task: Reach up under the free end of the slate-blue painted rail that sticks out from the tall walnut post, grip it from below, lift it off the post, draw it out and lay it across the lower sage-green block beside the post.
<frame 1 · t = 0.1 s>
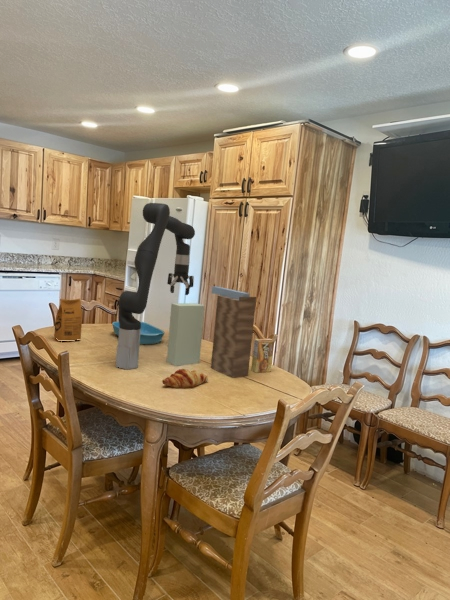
hand: (179, 293, 226), 29 cm above the table, tool pointing down, fingers open, 8 cm apart
post: (229, 371, 194), on the table
croissant: (186, 385, 171), on the table
step: (183, 362, 202), on the table
casserole dish: (136, 339, 241), on the table
rail: (229, 296, 194), point 34 cm above the table, touching post
coffee package: (67, 340, 223), on the table
candy box: (260, 371, 200), on the table
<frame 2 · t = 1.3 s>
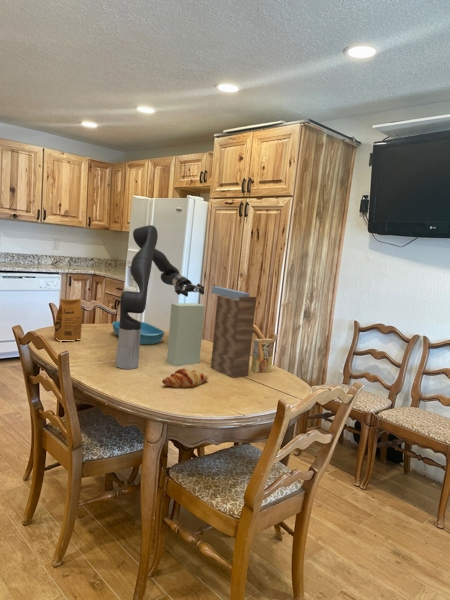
hand: (195, 293, 208), 32 cm above the table, tool horizontal, fingers open, 8 cm apart
nothing on the table moved.
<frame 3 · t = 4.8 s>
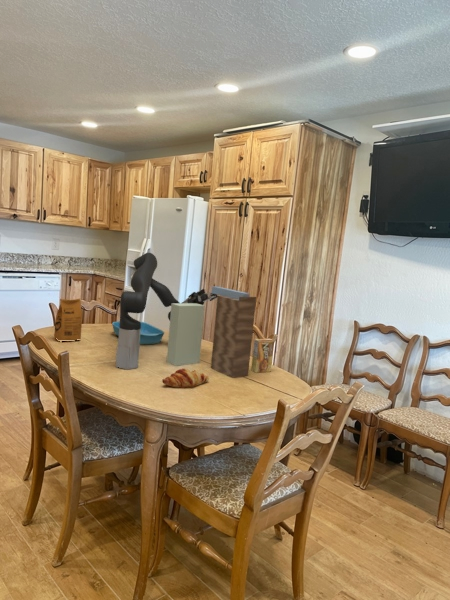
hand: (211, 290, 204), 35 cm above the table, tool pointing upward, fingers open, 8 cm apart
nothing on the table moved.
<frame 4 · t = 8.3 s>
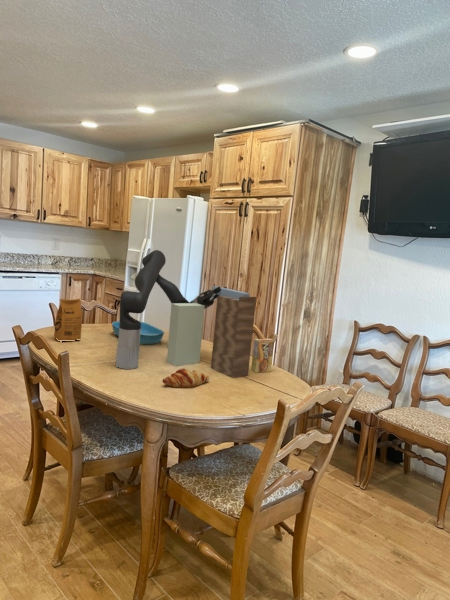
hand: (223, 288, 197), 37 cm above the table, tool pointing upward, fingers closed on rail, 3 cm apart
rail: (229, 296, 194), point 34 cm above the table, touching gripper, post
everything else where it was.
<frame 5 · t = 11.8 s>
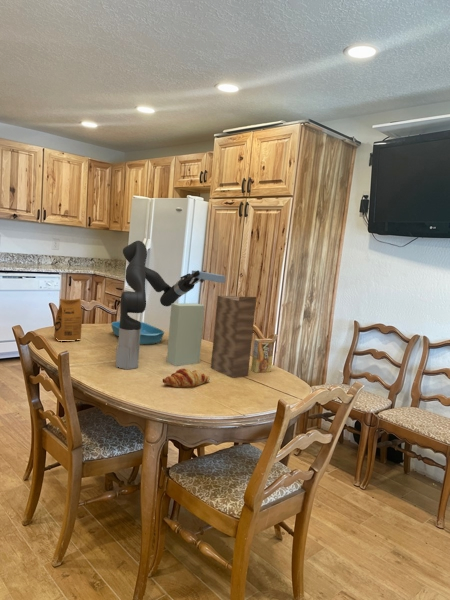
hand: (201, 272, 208), 43 cm above the table, tool pointing upward, fingers closed on rail, 3 cm apart
rail: (207, 279, 204), point 40 cm above the table, touching gripper
everything else where it was.
when the fingers open (32 cm above the table, at t = 15.7 s): rail stays where it is, resting on step.
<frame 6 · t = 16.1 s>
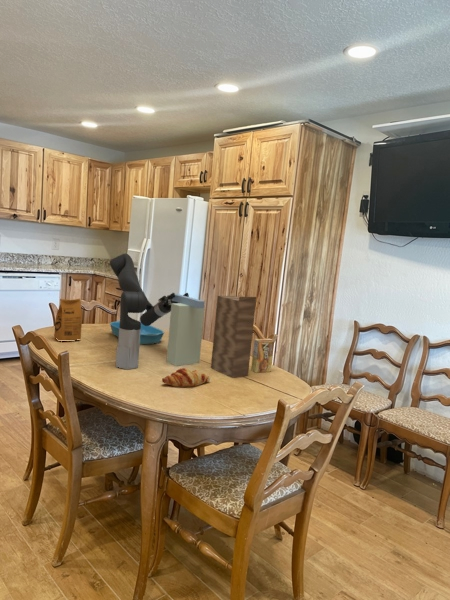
hand: (181, 294, 203), 32 cm above the table, tool pointing upward, fingers open, 7 cm apart
rail: (186, 304, 199), point 28 cm above the table, touching step
everything else where it was.
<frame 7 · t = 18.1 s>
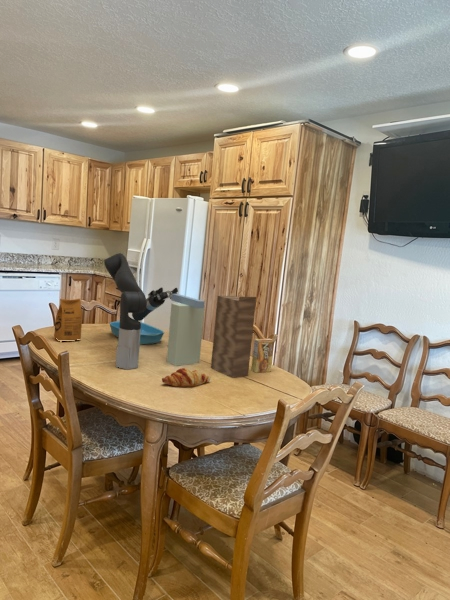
hand: (169, 289, 211), 33 cm above the table, tool pointing upward, fingers open, 8 cm apart
nothing on the table moved.
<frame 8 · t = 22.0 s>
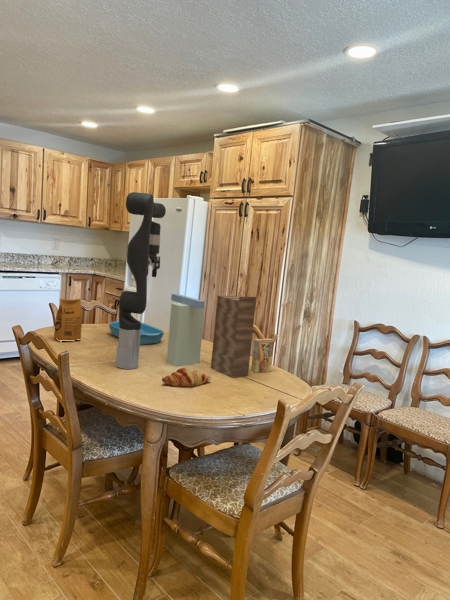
hand: (149, 276, 214), 38 cm above the table, tool pointing down, fingers open, 8 cm apart
at the end: rail touching step; rail point 28.0 cm above the table; the gripper is holding nothing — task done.
